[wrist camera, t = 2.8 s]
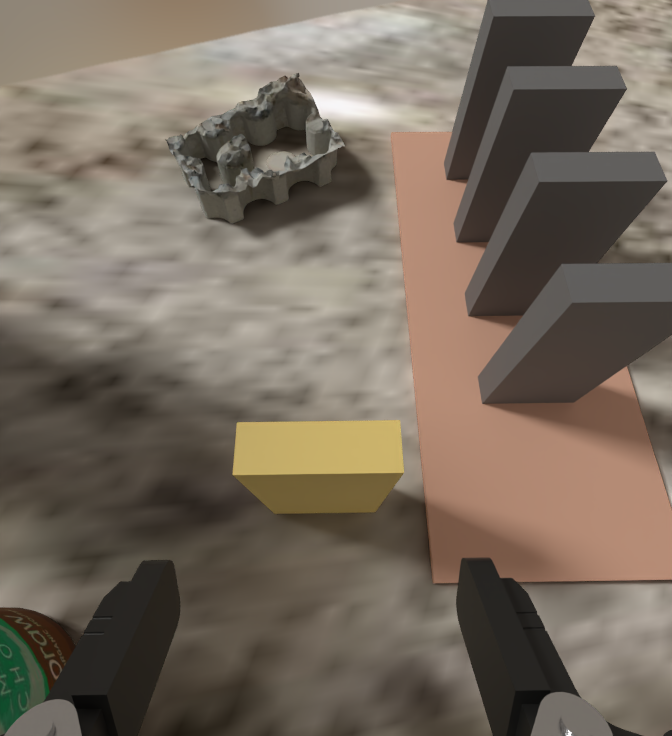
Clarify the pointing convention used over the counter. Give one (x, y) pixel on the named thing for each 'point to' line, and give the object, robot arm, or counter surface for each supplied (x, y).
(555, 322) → the charcoal domino
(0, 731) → the food container
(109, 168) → the counter surface
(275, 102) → the egg carton
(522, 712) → the robot arm
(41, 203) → the counter surface
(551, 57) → the charcoal domino
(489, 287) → the charcoal domino
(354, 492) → the ochre domino
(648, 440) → the terracotta mat
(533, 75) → the charcoal domino
